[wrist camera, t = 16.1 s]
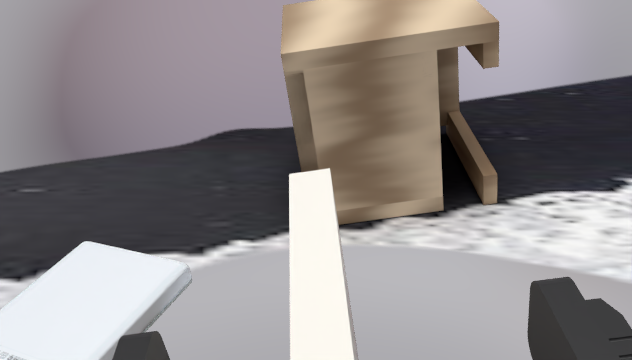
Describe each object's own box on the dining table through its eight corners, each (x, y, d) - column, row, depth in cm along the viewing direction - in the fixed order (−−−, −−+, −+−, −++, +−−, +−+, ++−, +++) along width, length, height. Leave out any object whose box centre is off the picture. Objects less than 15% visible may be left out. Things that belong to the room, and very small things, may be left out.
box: (311, 228, 37) (280, 54, 31) (307, 152, 45) (282, 5, 40) (496, 203, 36) (499, 21, 31) (457, 130, 45) (453, -21, 39)
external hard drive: (194, 285, 34) (19, 475, 25) (90, 260, 38) (-98, 417, 29) (188, 262, 33) (4, 449, 24) (81, 239, 37) (-115, 394, 28)
